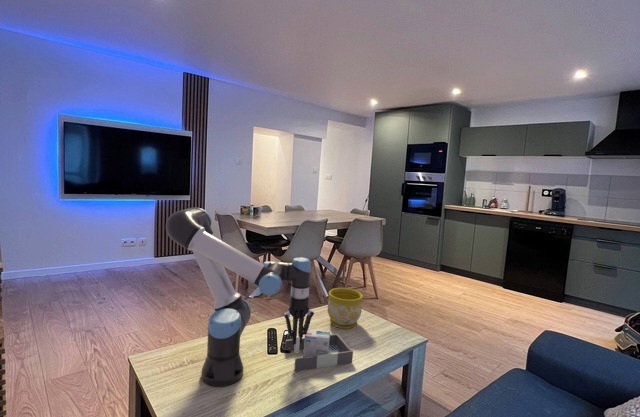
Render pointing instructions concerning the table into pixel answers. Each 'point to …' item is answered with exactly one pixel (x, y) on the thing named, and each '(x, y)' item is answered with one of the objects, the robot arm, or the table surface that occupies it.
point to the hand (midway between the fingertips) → (296, 350)
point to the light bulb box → (316, 342)
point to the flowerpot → (344, 307)
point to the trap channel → (325, 359)
